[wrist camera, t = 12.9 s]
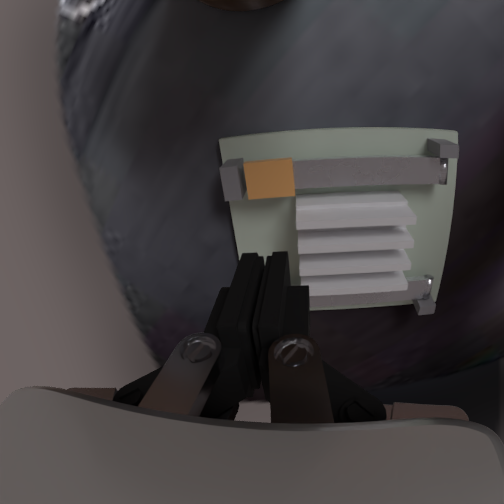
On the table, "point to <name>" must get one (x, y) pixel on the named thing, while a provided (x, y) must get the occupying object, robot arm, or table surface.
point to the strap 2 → (378, 294)
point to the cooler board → (347, 213)
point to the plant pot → (240, 4)
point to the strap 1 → (340, 173)
